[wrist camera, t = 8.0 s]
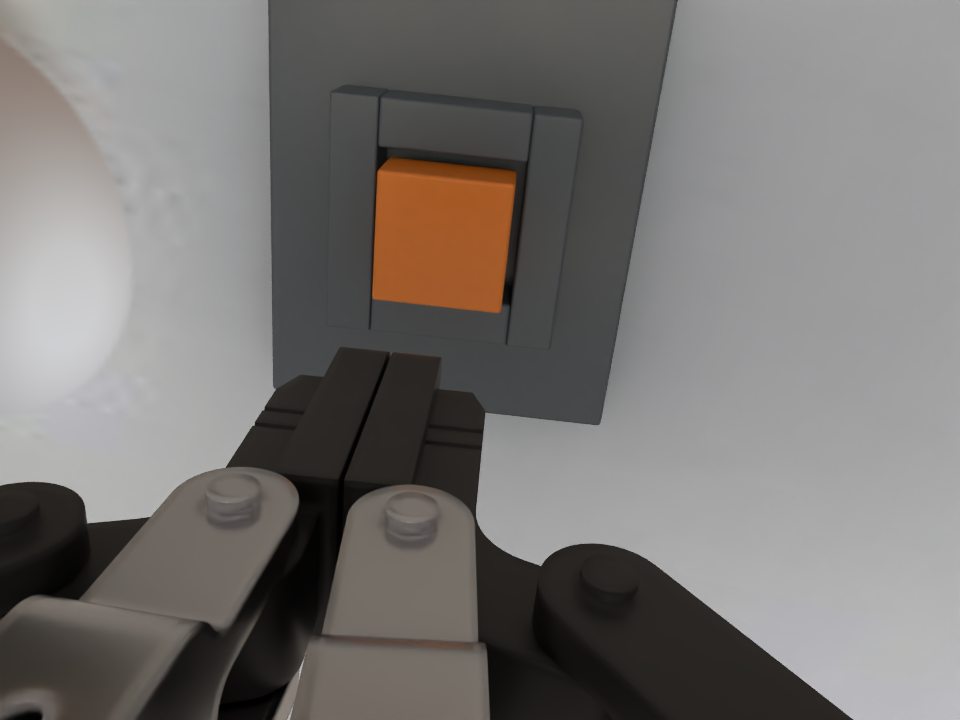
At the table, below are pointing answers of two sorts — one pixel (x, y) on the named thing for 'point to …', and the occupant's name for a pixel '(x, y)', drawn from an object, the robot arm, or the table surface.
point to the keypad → (475, 142)
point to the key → (442, 234)
